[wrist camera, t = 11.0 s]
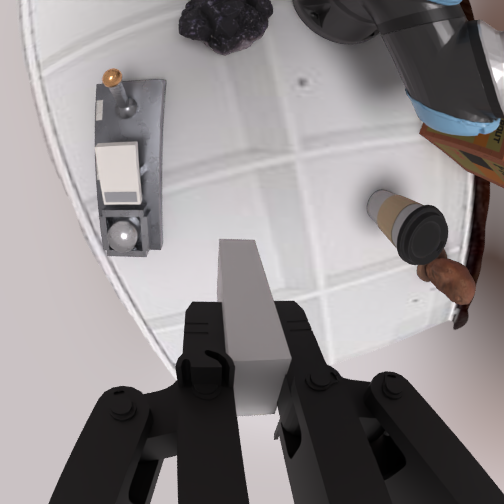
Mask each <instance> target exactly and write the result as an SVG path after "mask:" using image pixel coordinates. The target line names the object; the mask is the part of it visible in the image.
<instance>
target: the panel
mask: <svg viewBox="0 0 504 504" xmlns="http://www.w3.org/2000/svg"><path fill="white" fill-rule="evenodd" d="M122 85H123V87H124V89H125V92H126V94H127V97H128V99H129V104H128V108H119V107H118V105H117V103H116V101H115V99H114V97H113V95H112V93H111V91H110V89H109V87H106V86H105V85H104V84H97V88H96V106H95V146H96V145H97V144H98V143H113V142H134V141H137V142H138V158H139V171H140V182H141V192H142V202H141V204H114V205H104V201H103V196H102V190H101V185H100V179H99V173H98V167H97V160H96V153H95V166H96V185H97V198H98V209H99V219H100V228H101V236H102V243H103V249H104V250H107V256H128V257H147V254H148V251H149V250H161V248H162V245H163V231H162V139H163V118H164V102H165V88H166V80H164V79H154V80H136V81H123V82H122ZM119 217H136V218H137V219H138V220H139V222H140V224H141V234H140V236H139V238H138V240H137V242H136V244H135V246H134V248H133V249H132V250H131V251H129V252H126V253H120V252H117V251H115V250H114V249H112V248H111V247H110V245H109V243H108V241H107V233H108V231H109V229H110V228H111V227H112V225H113V224H114V223H115V221H116V220H117V219H118V218H119Z"/></svg>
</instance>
